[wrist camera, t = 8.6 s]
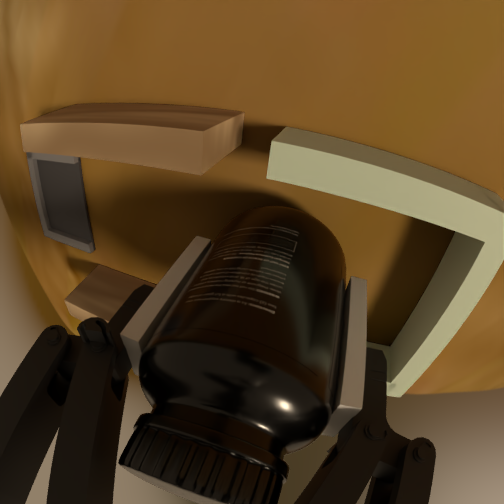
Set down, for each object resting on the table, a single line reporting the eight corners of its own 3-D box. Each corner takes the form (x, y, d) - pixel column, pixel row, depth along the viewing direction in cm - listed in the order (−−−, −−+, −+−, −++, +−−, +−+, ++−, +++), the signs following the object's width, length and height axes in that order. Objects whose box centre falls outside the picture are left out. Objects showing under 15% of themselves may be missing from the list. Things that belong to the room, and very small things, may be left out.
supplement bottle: (204, 272, 18) (90, 453, 8) (249, 175, 14) (64, 416, 4) (304, 326, 18) (248, 522, 8) (375, 248, 14) (361, 526, 4)
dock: (286, 126, 13) (271, 140, 10) (496, 193, 11) (522, 222, 9) (253, 327, 21) (239, 360, 18) (399, 362, 19) (400, 397, 17)
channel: (76, 104, 15) (19, 124, 11) (244, 112, 13) (203, 131, 9) (102, 279, 23) (70, 314, 19) (225, 322, 21) (201, 372, 18)
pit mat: (31, 146, 17) (25, 148, 17) (79, 149, 16) (73, 152, 16) (49, 232, 22) (44, 236, 22) (95, 249, 21) (90, 253, 21)
